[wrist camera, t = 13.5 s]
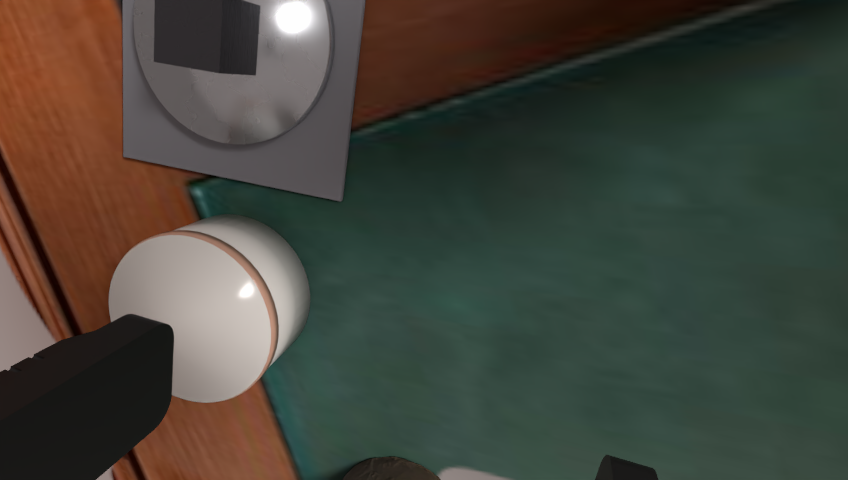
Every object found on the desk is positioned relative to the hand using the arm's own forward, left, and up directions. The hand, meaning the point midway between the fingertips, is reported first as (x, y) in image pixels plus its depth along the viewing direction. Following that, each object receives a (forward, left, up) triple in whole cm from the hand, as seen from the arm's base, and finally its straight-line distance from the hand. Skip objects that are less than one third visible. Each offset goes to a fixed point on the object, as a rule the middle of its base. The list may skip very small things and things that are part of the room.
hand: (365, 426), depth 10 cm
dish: (+11, -17, -26) cm, 32 cm away
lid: (-6, -18, -25) cm, 31 cm away
